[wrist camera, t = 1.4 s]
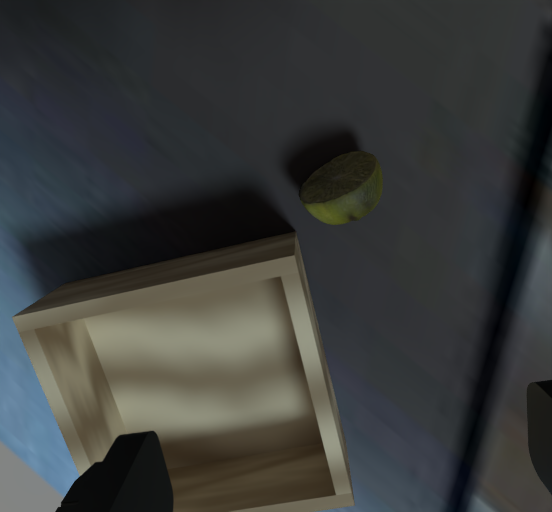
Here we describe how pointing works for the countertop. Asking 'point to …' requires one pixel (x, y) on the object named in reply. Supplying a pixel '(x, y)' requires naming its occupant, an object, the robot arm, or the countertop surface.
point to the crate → (200, 376)
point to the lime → (343, 188)
